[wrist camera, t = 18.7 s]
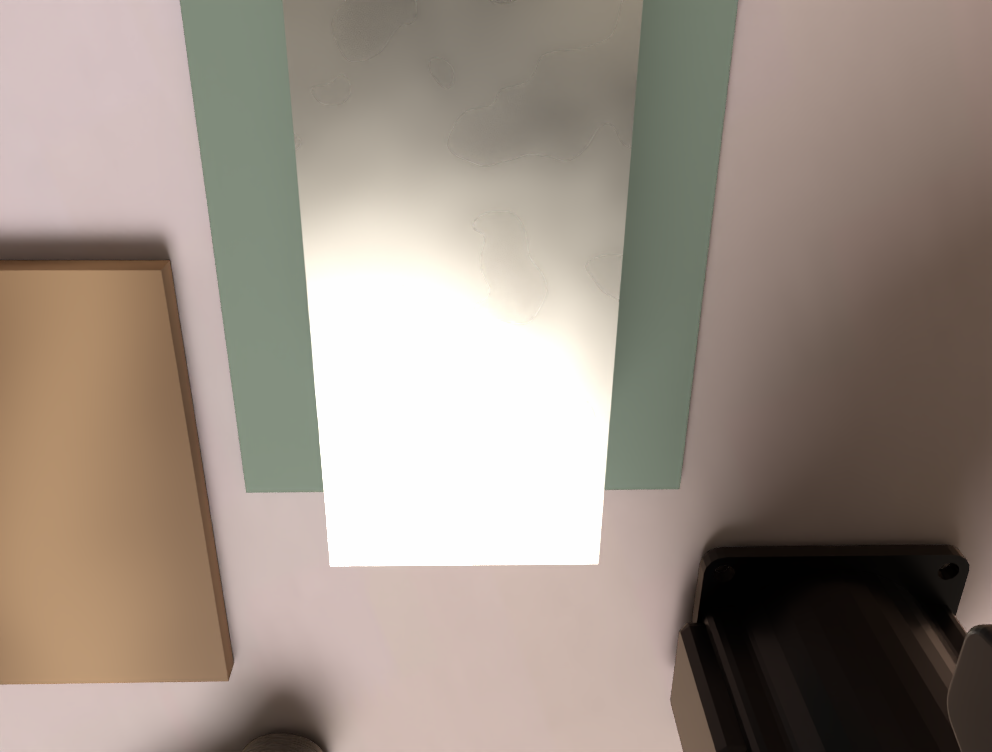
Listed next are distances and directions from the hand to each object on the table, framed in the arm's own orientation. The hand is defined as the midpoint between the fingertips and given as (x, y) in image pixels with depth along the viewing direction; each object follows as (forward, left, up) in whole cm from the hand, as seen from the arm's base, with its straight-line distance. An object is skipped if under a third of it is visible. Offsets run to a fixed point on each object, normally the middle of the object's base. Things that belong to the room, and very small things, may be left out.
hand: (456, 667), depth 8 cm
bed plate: (+12, +6, -12) cm, 18 cm away
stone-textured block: (0, 0, -12) cm, 12 cm away
